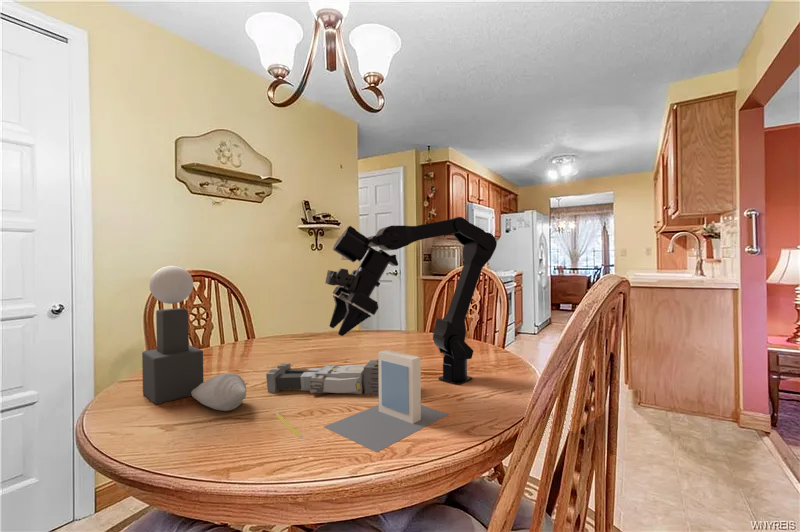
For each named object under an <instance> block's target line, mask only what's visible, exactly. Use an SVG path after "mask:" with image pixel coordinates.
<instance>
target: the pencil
mask: <svg viewBox="0 0 800 532" xmlns="http://www.w3.org/2000/svg"><path fill="white" fill-rule="evenodd" d="M274 416H275V417H276V418H278V420H280V422H282V424H284V425H285V427H287V428H288V430H290V431H291V433H293V434H294V435H295V436H296V437H297V439H298V438H299V439H303V437H304V436H303V434H301V433H300V432H299V431H298V430H297V429H296V428H295V427H294V426H293V425H291V423H289V422H288V420H287V419H285V418H284V417H283V415H281V414H280V412H275V413H274Z"/></svg>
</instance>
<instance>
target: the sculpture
mask: <svg viewBox="0 0 800 532" xmlns="http://www.w3.org/2000/svg"><path fill="white" fill-rule="evenodd" d="M148 287H149V291H150V293H151V295H152V296H153V297H154V299H156V300H158V301H159V302H161V303H164V304H168V305H169V304H170V305H172V304H173V305H174V304H178V303H181V302H183V301H184V300H186V299H187V298H189V296H190V295H191V293H192V292H193V289H194V280H193V277H192V275H191V274H190V273H189V272H188V270H186V269H185V268H183V267H180V266H177V265H166V266H164V267H161V268H159V269H158V270H156V271H155V272H153V274H152V275H151V277H150V279H149V286H148ZM155 312H156V315H155V316H156V348H155V349H149V350H144V351H142V355H141V358H142V359H141V360H142V361H141V363H142V365H141V366H142V367H141V368H142V369H141V370H142V393H143V395H144V396H145V397H146V398H147V399H148V400H150V402H152V403H154V405H158V404H162V403H166V402H170V401H175V400H178V399H182V398H186V397H191V396H192V394H191V392H192V390H193V389H195V388H197V387H198V386H199V385H200V384H202V383H203V382H204V351H203V350H202V349H200V348H198V347H194V346H192V345H191V344H189V342H190V341H189V310H188V309H186V308H182V307H178V308H166V309H157V310H156V311H155Z"/></svg>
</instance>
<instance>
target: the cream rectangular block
mask: <svg viewBox="0 0 800 532" xmlns="http://www.w3.org/2000/svg"><path fill="white" fill-rule="evenodd" d="M377 352H378V357H377V358H378V359H377V360H378V366H379V395H378V405H379V411H380V412H382V413H385V414H388V415H390V416H393V417H396V418H399V419H401V420H404V421H407V422H409V423H412V424H413V423H415V422H417V421H419V420H421V405H422V404H421V403H422V402H421V401H422V400H421V399H422V397H421V396H422V395H421V394H422V393H421V392H422V391H421V389H422V388H421V387H422V386H421V383H422V381H421V379H422V377H421V376H422V375H421V370H422V368H421V367H422V365H421V364H422V363H421V356H417V355H412V354H407V353H402V352H398V351H393V350H388V349H385V350H381V351H377Z"/></svg>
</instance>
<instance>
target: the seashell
mask: <svg viewBox="0 0 800 532" xmlns="http://www.w3.org/2000/svg"><path fill="white" fill-rule="evenodd" d="M191 394H192V395H191V396H192V398H193V399H195V400H196V401H198V402H199V403H200V404H202V405H204V406H205V407H208V408H210V409H213V410H216V411H220V412H221V411H222V412H228V411H232V410H235V409H236V408H238V407H239V406H240V405H241V404H242V403H243V401H244V399H246V396H247V385H246V382H245V380H244V379H243V378H242V377H241V376H240V375H239V374H236V373H233V372H232V373H231V372H227V373H220V374H217V375H215V376H212V377H210V378H208V379H206V380H205V381H203V383H202V384H200V385H199V386H198V387H197V388H195V389H193V390H192V392H191Z"/></svg>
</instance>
